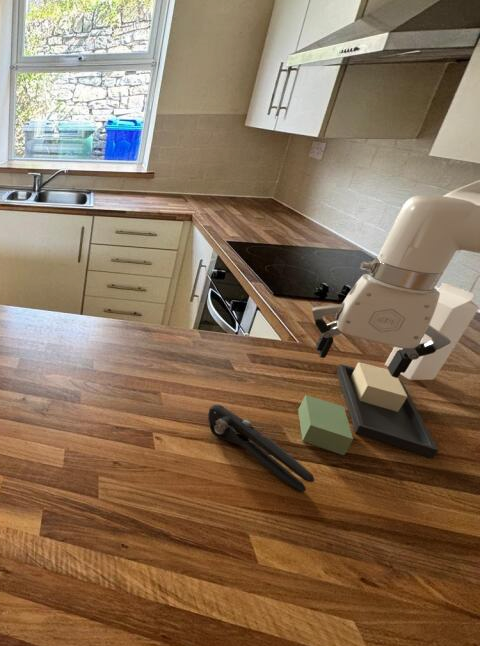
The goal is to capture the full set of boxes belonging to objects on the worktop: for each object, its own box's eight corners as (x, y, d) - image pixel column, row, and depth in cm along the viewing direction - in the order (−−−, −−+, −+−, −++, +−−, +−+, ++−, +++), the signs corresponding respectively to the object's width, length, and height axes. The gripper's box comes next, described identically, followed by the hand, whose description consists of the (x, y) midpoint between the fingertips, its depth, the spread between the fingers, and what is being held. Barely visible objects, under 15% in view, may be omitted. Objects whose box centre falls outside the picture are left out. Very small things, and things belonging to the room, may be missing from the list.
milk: (406, 364, 97) (455, 282, 88) (434, 380, 92) (489, 294, 83) (383, 364, 97) (429, 282, 88) (409, 380, 92) (462, 294, 82)
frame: (397, 387, 89) (401, 380, 88) (432, 458, 71) (438, 450, 71) (336, 370, 94) (339, 363, 94) (355, 433, 77) (359, 425, 76)
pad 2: (386, 385, 89) (394, 371, 87) (398, 412, 81) (407, 396, 80) (350, 376, 92) (358, 361, 90) (359, 400, 84) (367, 385, 83)
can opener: (194, 425, 78) (202, 403, 75) (219, 416, 80) (227, 393, 78) (291, 502, 63) (305, 477, 61) (318, 487, 66) (332, 463, 63)
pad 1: (335, 422, 79) (343, 406, 78) (344, 455, 72) (353, 439, 70) (298, 410, 82) (305, 394, 80) (302, 441, 75) (310, 424, 73)
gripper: (336, 269, 65) (296, 356, 72) (493, 298, 57) (430, 393, 64) (330, 256, 71) (294, 338, 78) (472, 281, 62) (416, 370, 70)
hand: (355, 363), depth 71 cm, fingers open, 9 cm apart
